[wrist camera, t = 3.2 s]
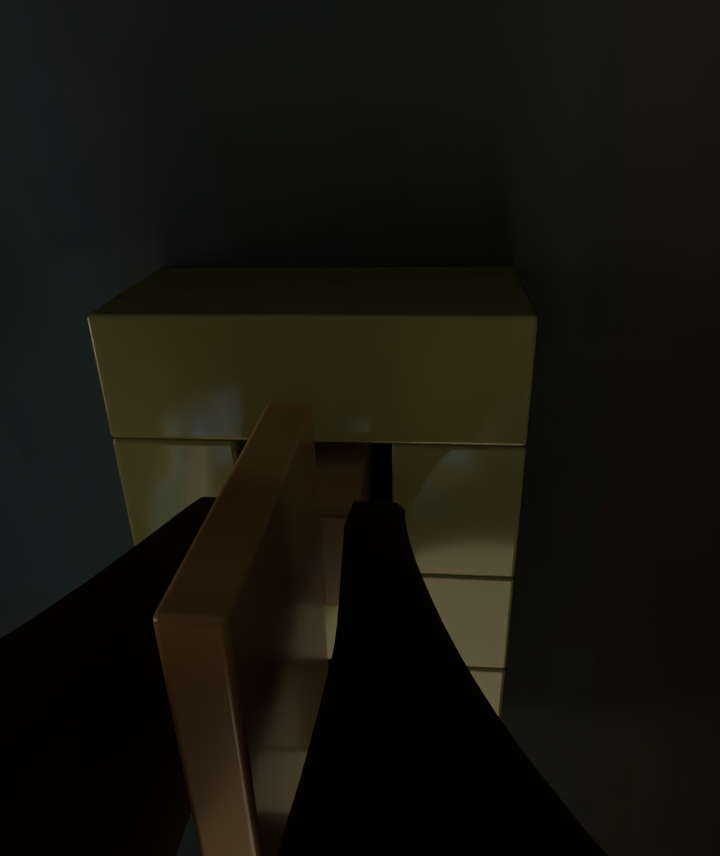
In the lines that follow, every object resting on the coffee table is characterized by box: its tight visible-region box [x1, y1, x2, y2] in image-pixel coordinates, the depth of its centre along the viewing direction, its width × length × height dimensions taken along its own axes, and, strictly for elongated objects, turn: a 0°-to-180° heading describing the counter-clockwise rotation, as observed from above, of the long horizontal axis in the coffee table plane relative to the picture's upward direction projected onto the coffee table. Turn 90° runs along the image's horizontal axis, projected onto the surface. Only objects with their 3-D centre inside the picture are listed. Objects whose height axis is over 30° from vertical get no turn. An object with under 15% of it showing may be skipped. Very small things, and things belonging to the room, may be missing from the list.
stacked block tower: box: [87, 267, 538, 719], centre depth 13 cm, size 11×6×3 cm, turn 1°
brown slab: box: [153, 403, 379, 856], centre depth 10 cm, size 5×2×8 cm, turn 1°
